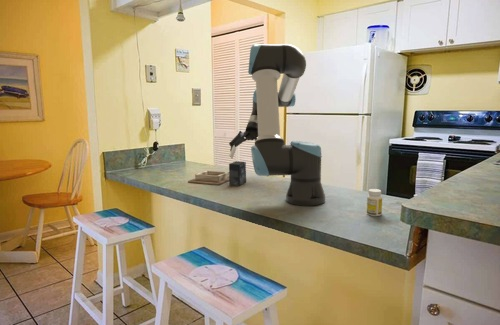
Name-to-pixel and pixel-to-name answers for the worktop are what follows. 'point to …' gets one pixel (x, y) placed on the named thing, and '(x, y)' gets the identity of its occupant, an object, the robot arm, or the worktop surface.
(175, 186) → the worktop surface
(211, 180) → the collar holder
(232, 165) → the box
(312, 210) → the worktop surface
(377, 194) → the supplement bottle
